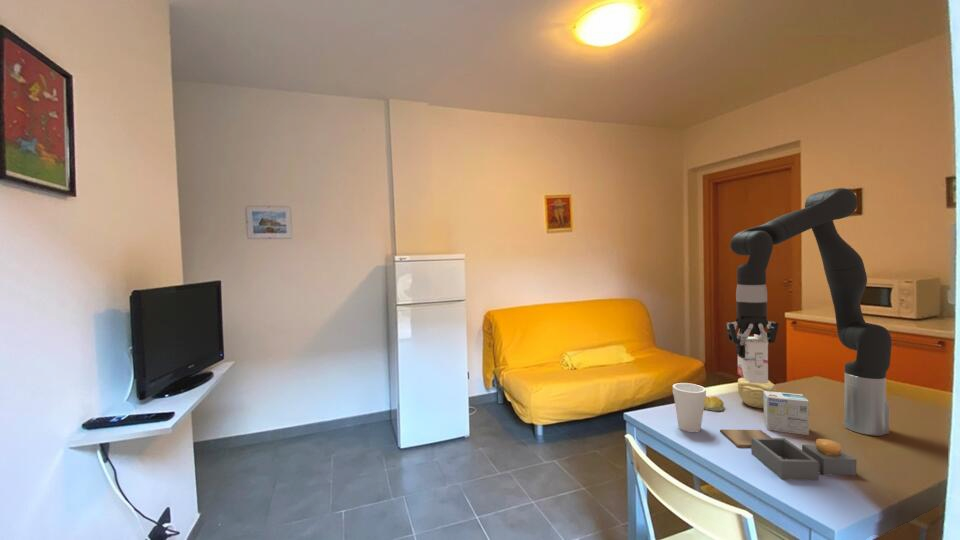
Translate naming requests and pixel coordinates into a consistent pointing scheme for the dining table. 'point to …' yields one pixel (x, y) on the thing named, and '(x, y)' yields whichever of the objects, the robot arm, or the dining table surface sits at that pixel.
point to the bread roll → (713, 404)
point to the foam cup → (689, 405)
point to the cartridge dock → (800, 460)
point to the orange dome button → (828, 447)
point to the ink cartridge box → (755, 360)
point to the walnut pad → (743, 436)
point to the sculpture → (754, 392)
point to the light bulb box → (786, 412)
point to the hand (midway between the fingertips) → (751, 356)
